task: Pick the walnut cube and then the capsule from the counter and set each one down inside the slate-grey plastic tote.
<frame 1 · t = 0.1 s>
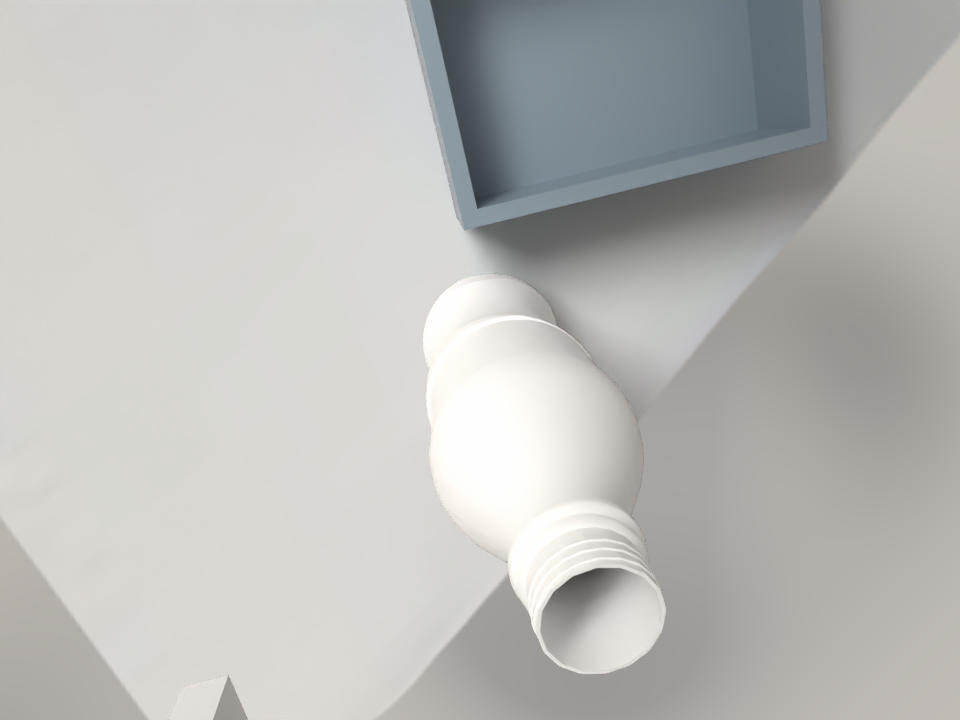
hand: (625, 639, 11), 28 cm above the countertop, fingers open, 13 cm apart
tote: (592, 45, 35), on the countertop
water bottle: (485, 326, 39), on the countertop
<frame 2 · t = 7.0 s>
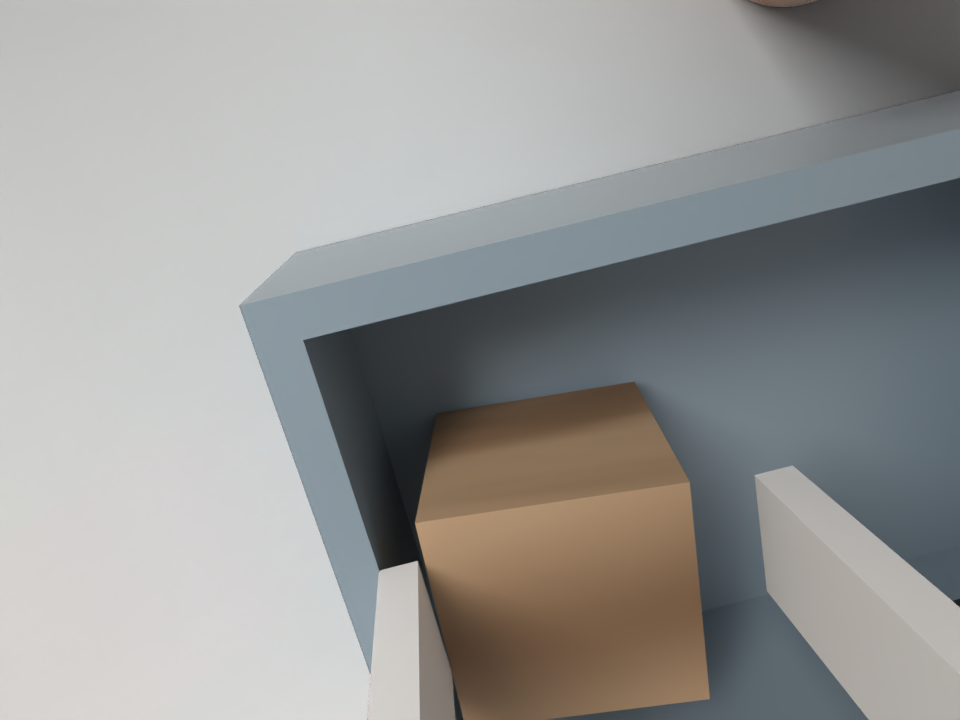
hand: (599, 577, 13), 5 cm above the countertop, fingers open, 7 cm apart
cube: (549, 484, 18), point 1 cm above the countertop, tilted 7°, touching gripper, tote
tote: (688, 418, 18), on the countertop
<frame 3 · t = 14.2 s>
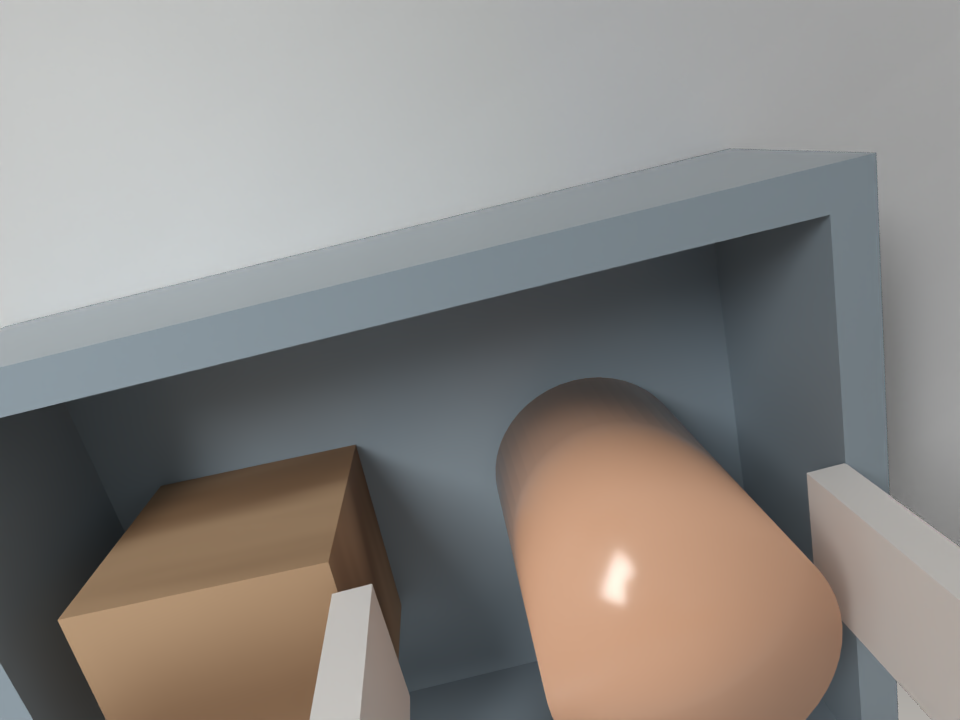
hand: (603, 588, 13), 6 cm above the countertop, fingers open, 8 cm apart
capsule: (590, 467, 18), point 1 cm above the countertop, touching tote
cube: (286, 548, 18), point 1 cm above the countertop, touching gripper
tote: (437, 485, 18), on the countertop
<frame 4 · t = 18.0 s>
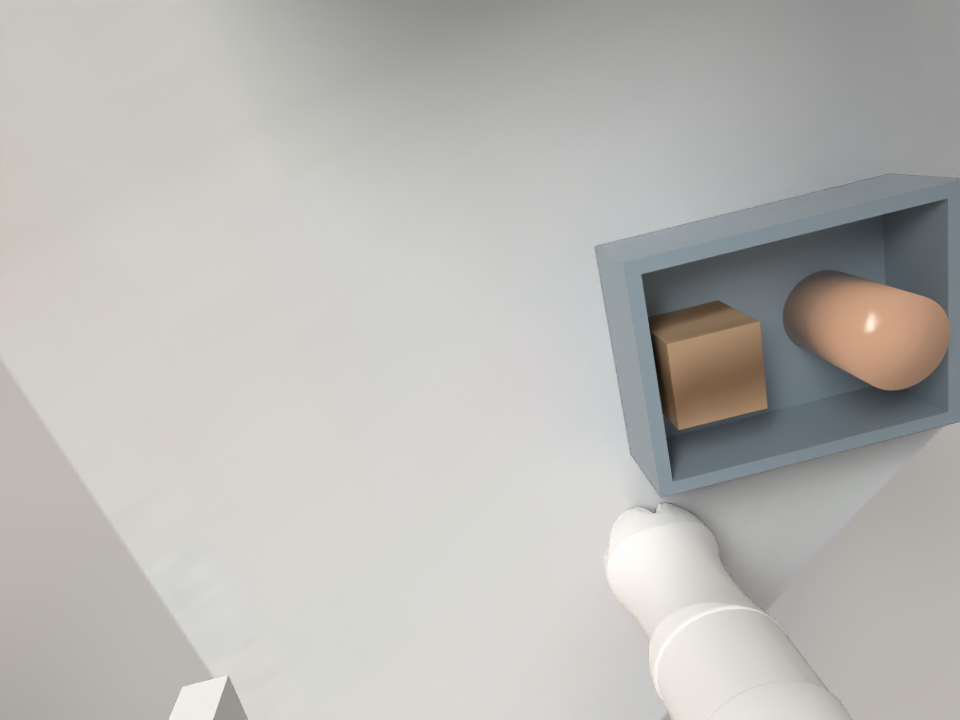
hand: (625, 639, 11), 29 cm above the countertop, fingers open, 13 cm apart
capsule: (822, 311, 41), resting on tote
cube: (682, 349, 40), resting on tote
tote: (753, 321, 41), on the countertop
water bottle: (646, 536, 45), on the countertop
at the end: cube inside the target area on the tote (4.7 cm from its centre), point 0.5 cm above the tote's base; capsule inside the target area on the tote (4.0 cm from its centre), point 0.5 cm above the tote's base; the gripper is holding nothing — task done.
